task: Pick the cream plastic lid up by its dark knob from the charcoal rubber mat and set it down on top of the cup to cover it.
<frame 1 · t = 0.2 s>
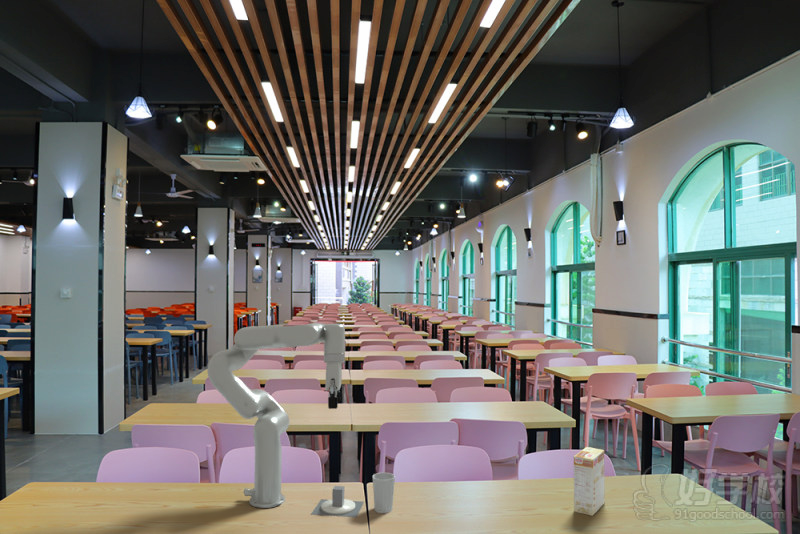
hand: (334, 405, 206), 36 cm above the table, tool pointing down, fingers open, 9 cm apart
coffeecake box: (589, 507, 206), on the table
mat: (338, 509, 202), on the table
lid: (338, 507, 202), resting on mat
cup: (383, 511, 201), on the table
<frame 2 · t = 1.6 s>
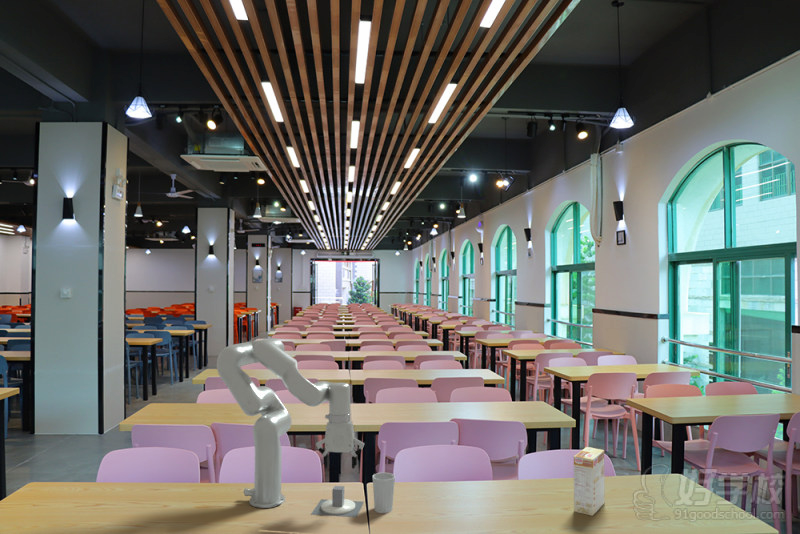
hand: (340, 467, 202), 15 cm above the table, tool pointing down, fingers open, 9 cm apart
nothing on the table moved.
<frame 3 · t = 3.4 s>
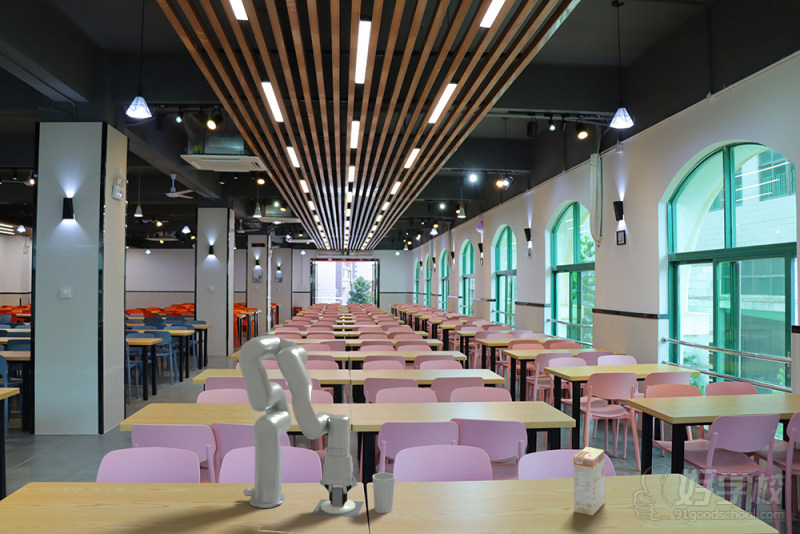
hand: (338, 502, 202), 2 cm above the table, tool pointing down, fingers closed on lid, 3 cm apart
lid: (338, 507, 202), point 1 cm above the table, touching gripper, mat
everything else where it was.
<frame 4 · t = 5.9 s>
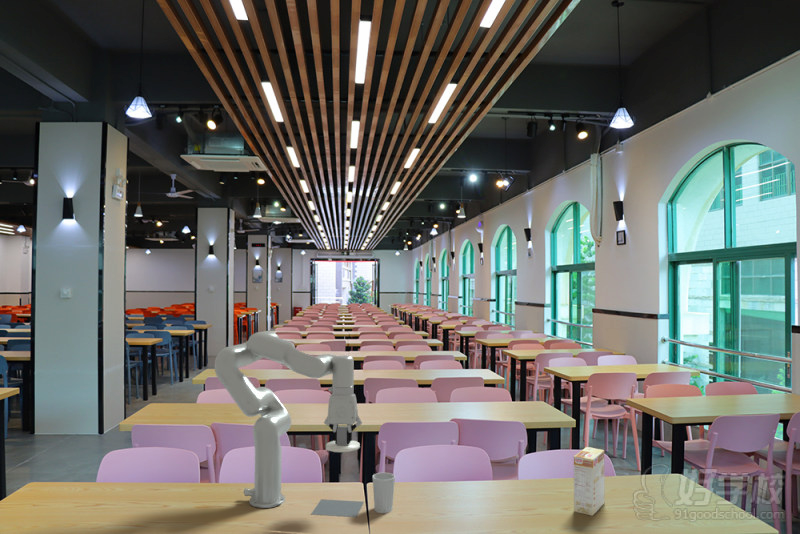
hand: (342, 442, 203), 23 cm above the table, tool pointing down, fingers closed on lid, 3 cm apart
lid: (342, 447, 202), point 22 cm above the table, touching gripper
everything else where it was.
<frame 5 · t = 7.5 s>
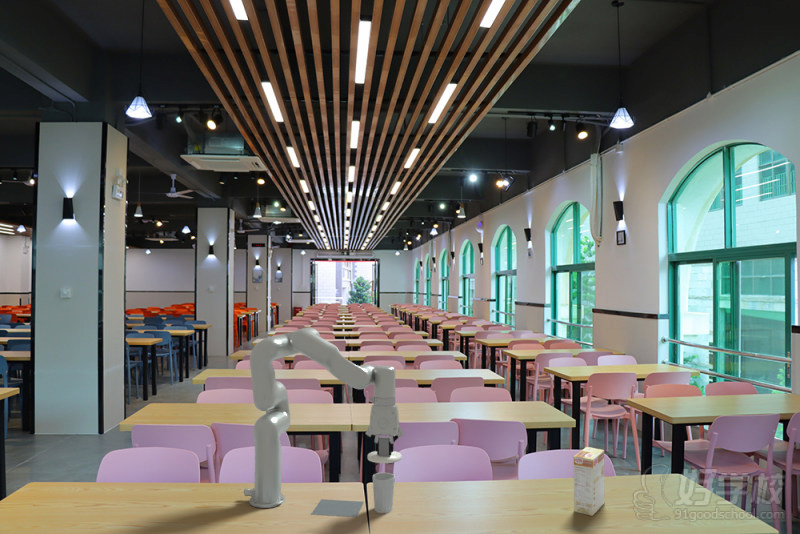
hand: (384, 453, 202), 20 cm above the table, tool pointing down, fingers closed on lid, 3 cm apart
lid: (384, 458, 202), point 18 cm above the table, touching gripper
everything else where it was.
when the fingers open (15 cm above the table, at t = 8.5 s): lid drops 2 cm, resting on cup.
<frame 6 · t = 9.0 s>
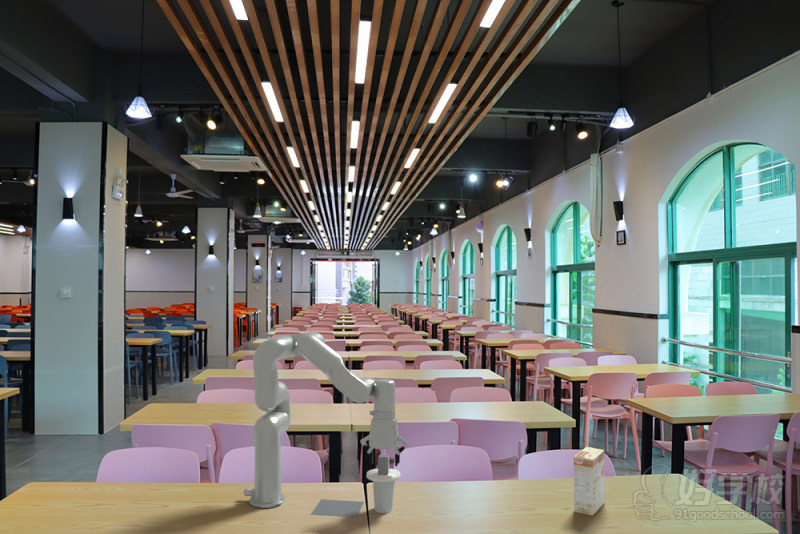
hand: (383, 464, 202), 16 cm above the table, tool pointing down, fingers open, 8 cm apart
lid: (383, 476, 201), point 12 cm above the table, touching cup
cup: (383, 511, 201), on the table, touching lid
everything else where it was.
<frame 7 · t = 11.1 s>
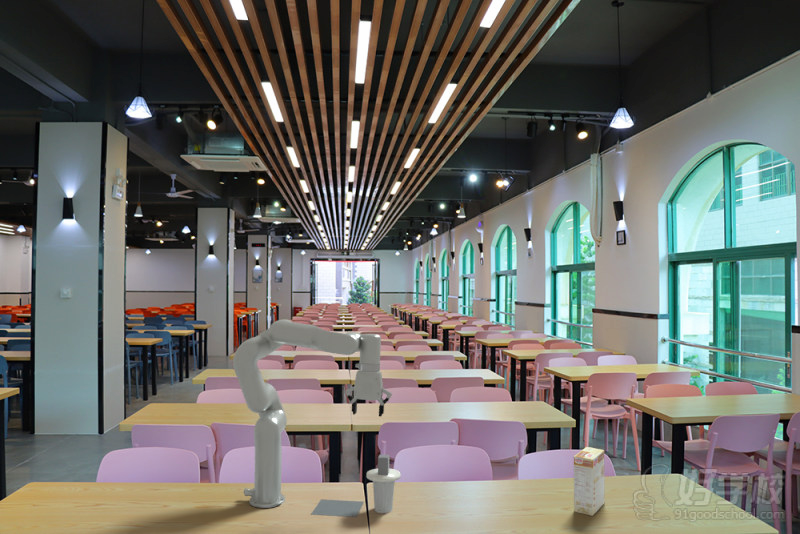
hand: (367, 414, 209), 32 cm above the table, tool pointing down, fingers open, 9 cm apart
nothing on the table moved.
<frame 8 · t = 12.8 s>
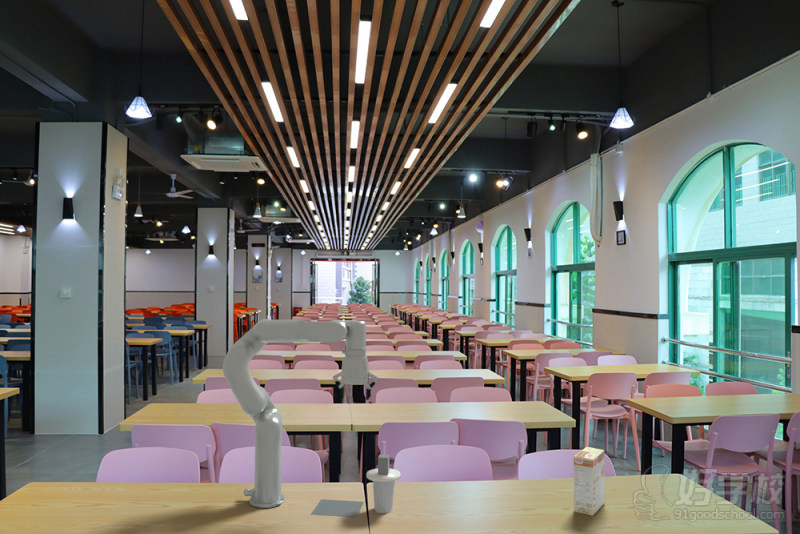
hand: (355, 398, 216), 36 cm above the table, tool pointing down, fingers open, 9 cm apart
nothing on the table moved.
at the end: lid 0.1 cm from the cup (horizontally); lid point 12.0 cm above the table; cup tilted 0° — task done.
